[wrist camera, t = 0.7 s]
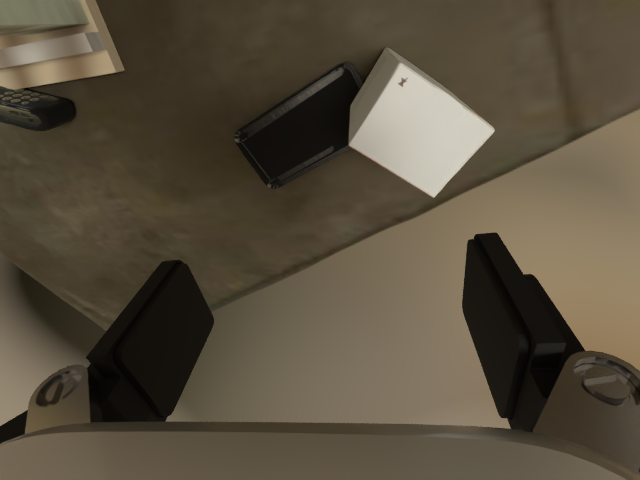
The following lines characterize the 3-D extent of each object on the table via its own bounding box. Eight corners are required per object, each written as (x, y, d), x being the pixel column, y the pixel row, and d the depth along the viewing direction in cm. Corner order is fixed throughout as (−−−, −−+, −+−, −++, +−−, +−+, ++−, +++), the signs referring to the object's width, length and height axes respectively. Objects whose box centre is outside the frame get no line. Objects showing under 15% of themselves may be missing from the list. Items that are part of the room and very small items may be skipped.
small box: (349, 106, 34) (345, 145, 24) (385, 45, 31) (400, 58, 20) (411, 146, 36) (434, 200, 25) (452, 92, 33) (499, 128, 22)
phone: (230, 135, 37) (350, 57, 31) (233, 132, 38) (350, 56, 32) (271, 192, 40) (385, 130, 35) (273, 188, 41) (384, 127, 36)
